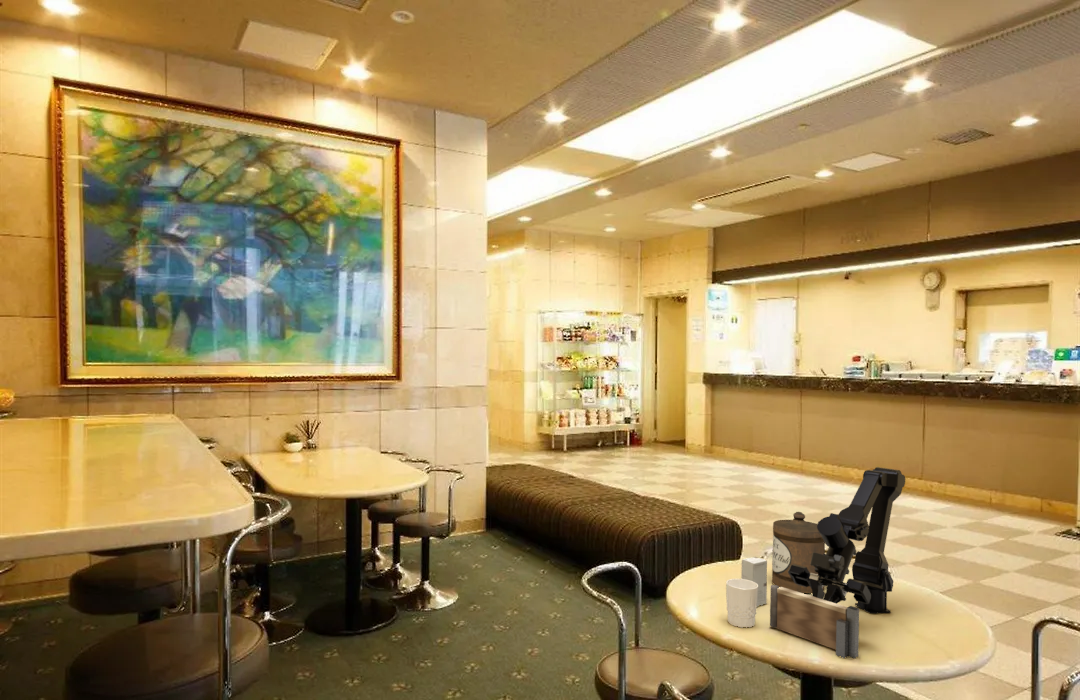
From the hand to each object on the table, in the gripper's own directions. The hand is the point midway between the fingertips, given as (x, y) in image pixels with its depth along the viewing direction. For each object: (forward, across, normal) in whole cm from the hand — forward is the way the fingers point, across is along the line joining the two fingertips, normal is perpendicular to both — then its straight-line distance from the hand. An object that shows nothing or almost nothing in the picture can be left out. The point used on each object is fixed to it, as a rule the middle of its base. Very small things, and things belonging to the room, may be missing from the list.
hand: (816, 613), depth 159 cm
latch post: (+6, +8, +3) cm, 11 cm away
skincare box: (-2, -23, +12) cm, 26 cm away
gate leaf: (+5, -2, +4) cm, 7 cm away
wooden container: (-20, -22, +29) cm, 42 cm away
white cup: (+8, -18, +2) cm, 19 cm away
